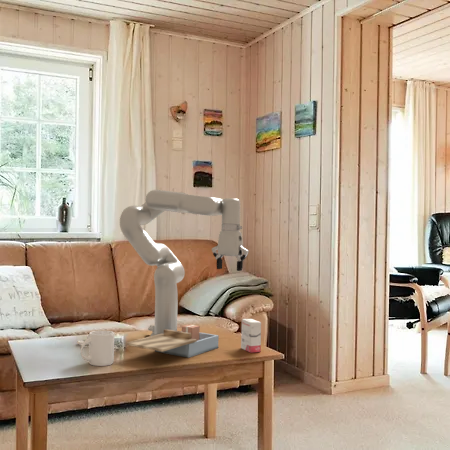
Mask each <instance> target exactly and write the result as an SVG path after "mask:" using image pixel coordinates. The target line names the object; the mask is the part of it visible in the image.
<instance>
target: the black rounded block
mask: <svg viewBox="0 0 450 450" xmlns="http://www.w3.org/2000/svg"><path fill="white" fill-rule="evenodd" d="M88 338H89V334H87V335H86V340H87V339H88ZM84 341H85V340H78V341H77V342H76V343H77V345H79V346H80V347H82V344H83V343H84ZM83 348H89V343H88V344H87V345H85V346H84V347H83Z"/></svg>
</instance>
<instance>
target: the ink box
mask: <svg viewBox="0 0 450 450" xmlns="http://www.w3.org/2000/svg"><path fill="white" fill-rule="evenodd" d="M240 336H241V337H240V339H241V340H240V349H242V350H244V351H246V352H248V353H250V354H251V353H260V352H261V347H262V346H261V345H262V340H261V339H262V322H261V321H259V320H255V319H254V318H242V319H241V335H240Z"/></svg>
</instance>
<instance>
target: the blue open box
mask: <svg viewBox="0 0 450 450" xmlns="http://www.w3.org/2000/svg"><path fill="white" fill-rule="evenodd" d="M180 332H182V330H181V331H180ZM219 339H220V338H219V335H218V334H212V333H206V332H201V331H199V340H198V341H197V342H193V343H190V344H187V345H183V346H180V347H177V348H173V349H170V350H167V351H163V352H161V351H156V350H154V352H156V353H157V352H158V353H163V354H167V355H168V354H169V355H172V356H173V355H174V356H178V357H183V358H192V357H195V356H198V355H201V354H204V353H207V352H209V351H213V350H216V349H218V348H219Z"/></svg>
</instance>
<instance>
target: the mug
mask: <svg viewBox="0 0 450 450" xmlns="http://www.w3.org/2000/svg"><path fill="white" fill-rule="evenodd" d="M88 335H89V338H88V339H87V338H86V339H85V340H83V341H84V343H83V344H82V346H80V347H81V348H80V355H81V358H82V359H83V360H84V361H86V362H88V363H89V364H90V366H94V367H107V366H111V365H112V364H113V363H114V360H115V359H114V358H115V331H112V330H106V329H105V330H93V331H89V333H88ZM88 343H89V345H88ZM87 345H88V346H89V347H88V355H87V356H85V355H84V354H83V349H84V348H85V347H84V346H87Z"/></svg>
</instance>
